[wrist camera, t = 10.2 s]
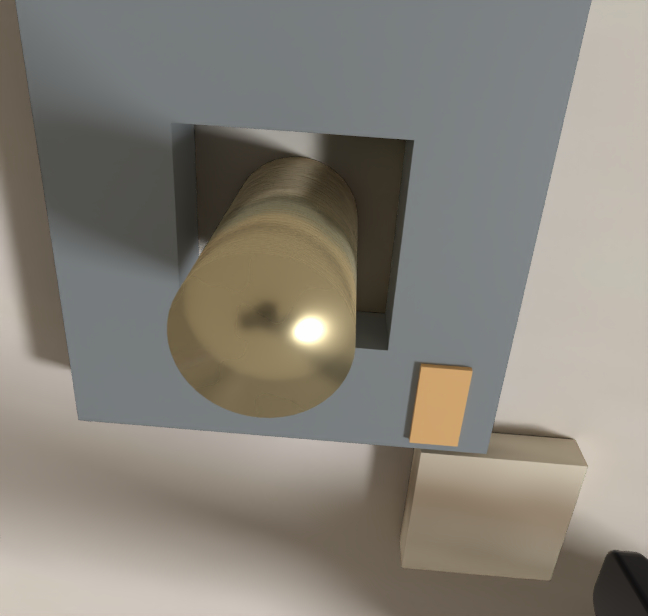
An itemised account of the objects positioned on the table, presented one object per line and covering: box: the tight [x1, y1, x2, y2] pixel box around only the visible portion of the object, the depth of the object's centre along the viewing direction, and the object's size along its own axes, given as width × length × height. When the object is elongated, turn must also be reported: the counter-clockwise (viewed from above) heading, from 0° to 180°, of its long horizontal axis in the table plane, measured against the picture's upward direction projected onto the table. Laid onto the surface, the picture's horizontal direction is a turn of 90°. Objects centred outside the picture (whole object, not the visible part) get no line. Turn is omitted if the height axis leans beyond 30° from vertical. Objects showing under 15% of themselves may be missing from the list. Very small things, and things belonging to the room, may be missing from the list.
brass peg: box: [167, 157, 358, 418], centre depth 17 cm, size 4×4×8 cm
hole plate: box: [15, 0, 592, 454], centre depth 19 cm, size 14×14×3 cm
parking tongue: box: [400, 433, 588, 581], centre depth 24 cm, size 6×6×2 cm
